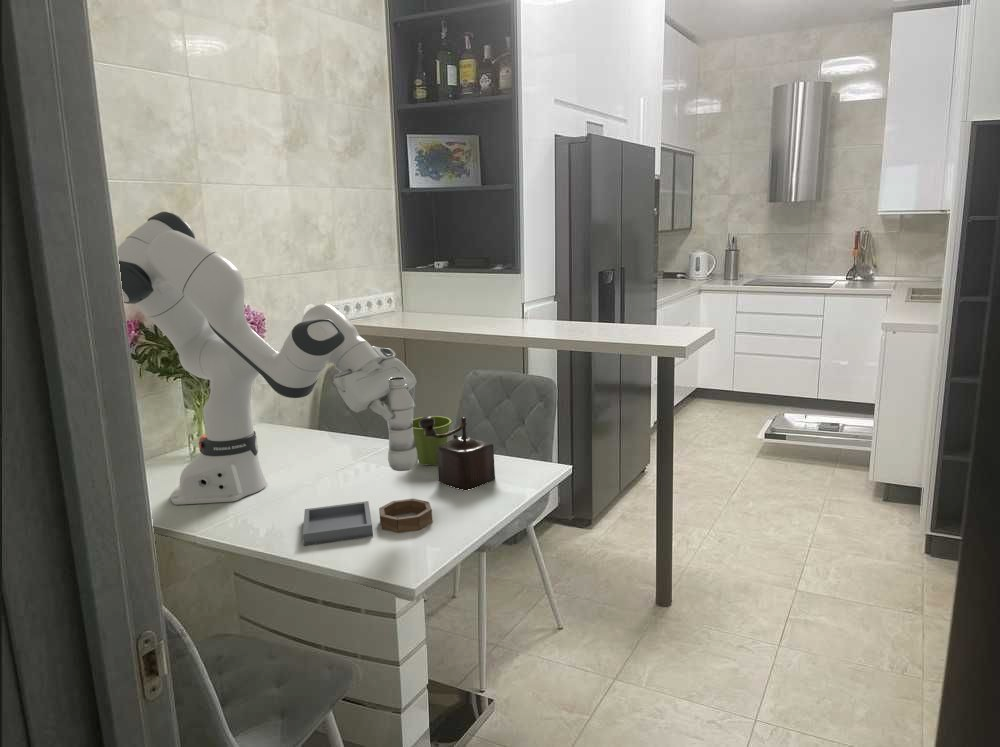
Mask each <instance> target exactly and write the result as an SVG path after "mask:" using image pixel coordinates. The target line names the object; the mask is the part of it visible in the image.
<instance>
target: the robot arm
mask: <svg viewBox="0 0 1000 747" xmlns="http://www.w3.org/2000/svg"><path fill="white" fill-rule="evenodd" d="M117 248H118V256H119V264H120V272H121V281H122V289H123V296H124V303H123V304H126V305H127V304H128V305H129V304H130V305H134V304H136V305H137V306H138V308H139V309H140V310H141V312H143V313H144V314H145V315H146V316H147V318H149V320H150V321H151V322H152V323H153V324H154V325H155V326H156V327H157V329H158V330H160V331H161V332H162V334H164V335H165V337H166V338H167V339H168V340H169V342H170V343H171V344H172V345H173V347H174V349H175V350H176V352H177V353H178V358H179V359H178V360H179V362H180V366H182V368H183V369H184V370H185V371H186V372H188V373H189V374H191V375H193V377H194V376H195V377H196V378H200V379H203V380H209V381H210V392H209V397H208V400H207V401H206V403H204V405H203V408H202V409H203V410H202V411H203V420H204V425H205V433H206V435H205V434H204V435H203V434H202V435H201V436H200V438H199V440H198V448H199V452H200V453H199V454H198V455H197V456H196V457H195V458H193V460H191V461H190V462H189V463H188V464H187V465H186V466H185V467H184V468H183V469H182V472H180V473H181V474H180V476H179V477H180V478H179V485H178V486H177V487H176V488H174V490H173V491H172V493H171V496H170V501H171V503H172V504H174V505H176V506H177V505H179V506H180V505H195V504H212V503H214V504H215V503H227V502H228V503H230V502H236V501H239V500H241V499H243V498H245V497H247V496H250V495H252V494H255V493H258V492H260V491H262V490H263V489H265V488H266V487H267V485H268V483H267V480H266V478H265V476H264V473H263V470H262V467H261V464H260V460H259V456H258V453H259V444H258V437H257V432H256V431H255V430H254V422H253V413H252V395H253V394H252V393H253V387H254V383H255V381H256V379H257V378H258V377H259V376H262V378H263V379H264V380H265V381H266V383H267V384H268V385H269V386H270V388H271V389H273V391H274V392H275V393H277V394H278V395H280V396H282V397H284V398H290V399H301V398H304V397H307V396H309V395H311V393H312V392H313V390H314V388H315V386H316V384H317V381H318V380H319V379H318V378H319V377H320V375H321V374H322V373H323V371H324V369H325V368H326V366H327V364H330V363H332V364H333V365H334V368H335V369H336V370H337V373H335V374H334V376H333V378H332V381H333V382H332V383H333V384H334V385H335V387H336V388H337V392H338V393H339V395H340V397H341V398H342V400H343V401H344V403H345V404H346V405H347V407H348V408H349V409H350V411H353V412H354V413H359V412H362V411H364V410H367V409H370V410H371V411H372V412H374V413H376V414H377V415H380V416H382V418H383V419H384V420H385V421H386V422H387V421H388V420H390V419H392V418H393V417H394V416H395V414H394V412H392V410H391V409H387V408H386V407H384V404H383V403H384V400H385V398H386V396H387V395H388V393H389V391H390V389H389V388H388V385H389V382H388V380H389V379H390V378H394V377H404V378H405V380H406V387H405V389H406V390H407V392H408V393H409V394H410V395H411V392H410V391H412V389H413V388H414V387H415V385H416V384H417V378H416V377H415V375H414V373H412V371H411V370H410V369H409V368H408V367H407V366H406V364H405V363H404V362H403V361H402V360H400V359H399V358H396V352H395V351H394V350H393V349H392V348H388V347H387V348H386V347H379V346H375V345H371V344H370V343H369V342H368V341H367V340H366V339H365V338H363V337H362V336H361V335H360V333H359V332H358V330H357V328H356V327H355V325H354V324H353V323H352V322H351V321H350V320H349V319H348V318H347V317H346V315H345V314H343V313H342V312H341V311H340V310H339V309H337V307H334V306H333V305H331V304H328V303H322V304H321V303H320V304H317V305H315V306H313V307H311V308H310V309H308V310H307V311H306V312H305V313H304V315H303V317H302V319H301V322H299V323H297V324H296V325H294V326H293V328H292V329H291V330H290V332H289V333H288V335H287V337H286V339H285V341H284V342H283V345H282V346H281V349H280V350H279V352H278V351H277V350H276V349H274V347H273V346H271V345H270V344H269V343H268V342H267V341H266V340H265V339H264V338H263V337H261V336H260V335H259V334H258V333H257V332H255V330H253V329H252V327H251V326H250V324H249V323H248V320H247V317H246V312H245V311H246V310H245V283H244V280H243V276H242V274H241V272H240V271H239V269H238V267H236V266H235V265H234V264H233V263H232V262H231V261H230V260H229V259H227V258H225V257H224V256H223V255H222V254H220V253H218V252H217V251H215V250H214V249H213V248H211V247H210V246H208V245H206V244H204V243H202V242H201V241H200V240H197V239H196V237H195V232H194V230H193V229H192V227H191V226H190V225H189V224H188V222H187V221H185V220H184V219H183V218H181V217H180V216H178V215H177V214H175V213H173V212H169V211H160V212H158V213H157V214H156V213H155V214H154V215H152V216H150V217H148V219H147V220H146V222H144V223H143V224H141V225H140V226H139V227H137V228H136V229H135V230H133V231H132V232H131V233H130V234H129V235H127V236H126V238H125V240H123V241H122V242H121V244H120V245H119V246H118V247H117ZM415 408H416V403H415V402H414V409H415Z"/></svg>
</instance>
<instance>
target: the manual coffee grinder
mask: <svg viewBox="0 0 1000 747" xmlns="http://www.w3.org/2000/svg"><path fill="white" fill-rule="evenodd" d="M422 417H423V418H422V419H421V420H420V421H419V426H420V427H421V428H422V429H424V430H425V433H424V435H425V436H431V437H435V438H443V437H447V436H448V437H450V436H452V435H453V438H454V439H450V440H449V441H447V443H446V444H444V445H440V446H437V459H438V465H437V470H438V482H439V483H441V484H442V483H443V485H444V484H446V485H445V486H447V485H449V486H448V487H450V486H452V487H451V488H453V487H455V488H454V489H456V488H459V489H458V490H460V489H463V490H462V491H464V490H467V491H469V490H468V489H471V490H473V489H476V488H478V487H480V485H481V486H483V485H486V484H488V483H490V482H492V481H494V480H496V470H495V469H496V468H495V454H494V453H495V451H494V444H493V443H489V442H486V441H483V440H480V439H474V438H472V437H470V436H468V435H467V429H466V428H467V426H468V424H467V418H466V417H465V416H463V417H461V419H460V422H461V423H460V425H459V426H457V427H456V428H455V429H452V430H451V431H450V430H449V431H448V433H445V434H441V435H437V434H435V433H436V431H435V430H434V428H433V427H434V424H435V419H434V418H433V417H430V415H425V416H422ZM461 430H462V431H461ZM459 431H461V432H462V434H461V435H462V436H459V437H458V435H456V433H457V432H459ZM448 437H447V438H448ZM487 482H488V483H487ZM485 483H486V484H485ZM482 484H483V485H482ZM477 486H478V487H477ZM475 487H476V488H475ZM472 488H473V489H472Z"/></svg>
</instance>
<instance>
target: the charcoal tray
mask: <svg viewBox="0 0 1000 747" xmlns="http://www.w3.org/2000/svg"><path fill="white" fill-rule="evenodd" d="M303 516H304V517H303V529H302V538H303V545H304V547H307V546H314V545H322V544H331V543H337V542H343V541H350V540H359V539H364V538H371V537H374V532H373V530H374V529H373V524H372V523H373V522H372V515H371V508H370V502H369V501H368V500H367V501H360V502H357V501H356V502H350V503H349V502H348V503H342V504H335V505H327V506H319V507H313V508H312V507H311V508H305V509H304V514H303Z"/></svg>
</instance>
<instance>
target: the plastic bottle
mask: <svg viewBox="0 0 1000 747" xmlns="http://www.w3.org/2000/svg"><path fill="white" fill-rule="evenodd" d="M388 382H389V385H388V388H389V389H390V391H389V393H388V395H387V396H386V398H385V400H384V402H383V406H384V407H386V408H387V409H391V410H392V412H394V414H395V416H394V417H393V418H392V419H390V420H388V421H386V423H387V428H388V452H387V454H388V455H387V461H388V466H389V467H390V469H391V470H393V471H395V472H406V471H407V472H408V471H411V470H413V469H415V468H416V466H417V465H418V463H419V461H418V454H417V449H416V447H415V441H414V434H413V419H414V410H415V408H414V403H415V401H414V399H413V397H412V396H411V393H410V392H409V393H410V394H409V393H408V392H407V390H406V389H405V387H406V380H405V378H404V377H394V378H390V379H389V380H388Z"/></svg>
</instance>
